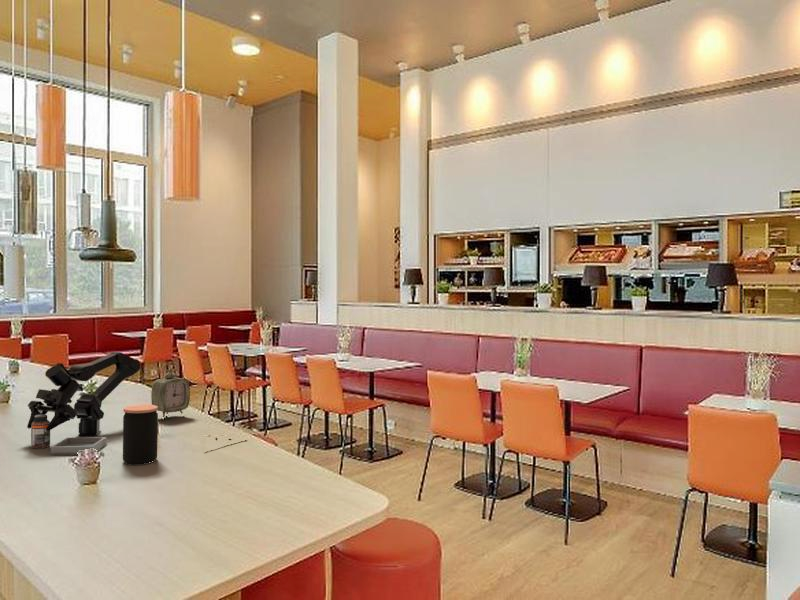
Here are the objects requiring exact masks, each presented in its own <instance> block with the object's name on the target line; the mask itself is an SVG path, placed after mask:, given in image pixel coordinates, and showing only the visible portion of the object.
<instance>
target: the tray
mask: <svg viewBox="0 0 800 600" xmlns="http://www.w3.org/2000/svg"><path fill="white" fill-rule="evenodd" d="M103 446H104V447H106V446H107V436H104V437H103V436H99V437H96V436H95V437H94V436H93V437H92V436H90V437H89V436H87V437H85V436H84V437H83V436H79V437H66V438H64V439H62V440H60V441H59V442H57V443H56V444H53V445H52V446H50V456H77V455H76V454H77V452H78V451H79V450H85V449H90V448H94V449H96V450H98V451H100V450H101V449H103V448H104V447H103ZM102 447H103V448H102ZM100 448H101V449H100ZM99 449H100V450H99Z"/></svg>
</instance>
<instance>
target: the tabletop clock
mask: <svg viewBox="0 0 800 600" xmlns="http://www.w3.org/2000/svg"><path fill="white" fill-rule="evenodd" d="M171 364H174V365H175V368H174V369H172V368H171V367H170V368H169V369H166V367H167V366H168V365H171ZM163 369H164V371H165V372H167V373H165V375H164V377H163V378H158V379H156V380H154V381H153V382H152V385H151V391H150V392H151V395H150V398H151V405H156V406H158V410H157V411H159V412H162V417H165V414H168V415H169V413H177V412H180V414H182V413H184V412H183V411H184V410H186V409H187V408H188V407H189V405H190V396H191V387H190V382H189V379H187V378H182V377H181V378H180V377H177V374H176V372H175V371H176V370H177V369H178V364H177V362H174V361H170V362H166V363H165V364H164V366H163ZM157 411H156V412H157Z"/></svg>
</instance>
